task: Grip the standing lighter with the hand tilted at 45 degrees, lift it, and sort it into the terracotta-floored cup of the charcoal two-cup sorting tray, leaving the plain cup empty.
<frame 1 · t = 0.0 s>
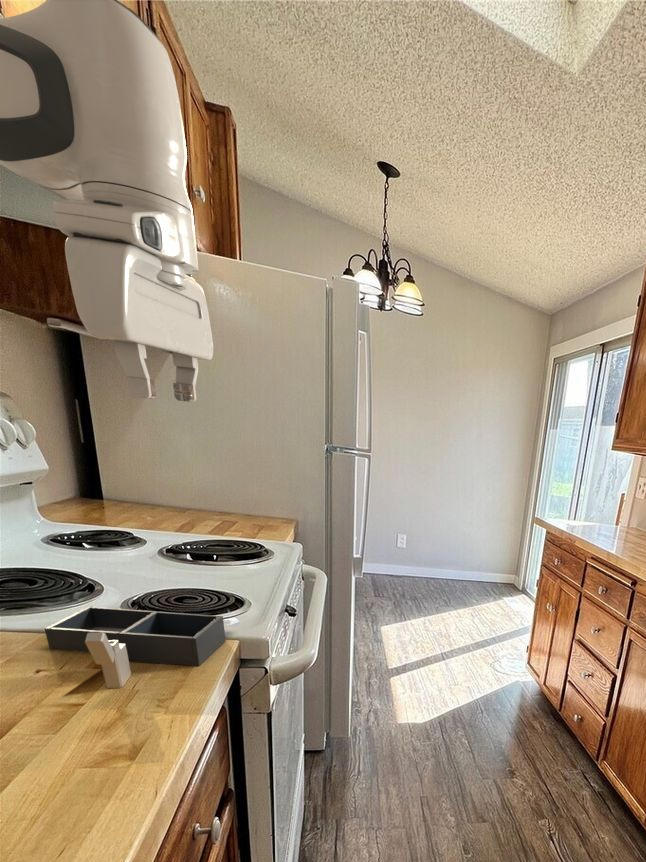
hand: (166, 400, 59), 33 cm above the worktop, tool pointing down, fingers open, 8 cm apart
sorter: (144, 648, 80), on the worktop
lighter: (115, 687, 69), on the worktop
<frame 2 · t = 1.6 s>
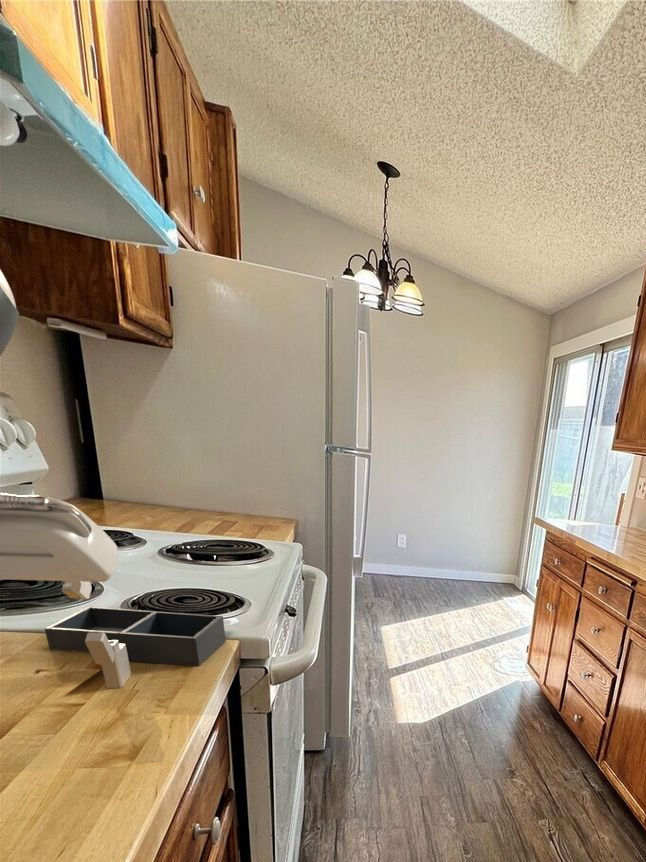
hand: (26, 591, 53), 16 cm above the worktop, tool tilted 45°, fingers open, 8 cm apart
nothing on the worktop moved.
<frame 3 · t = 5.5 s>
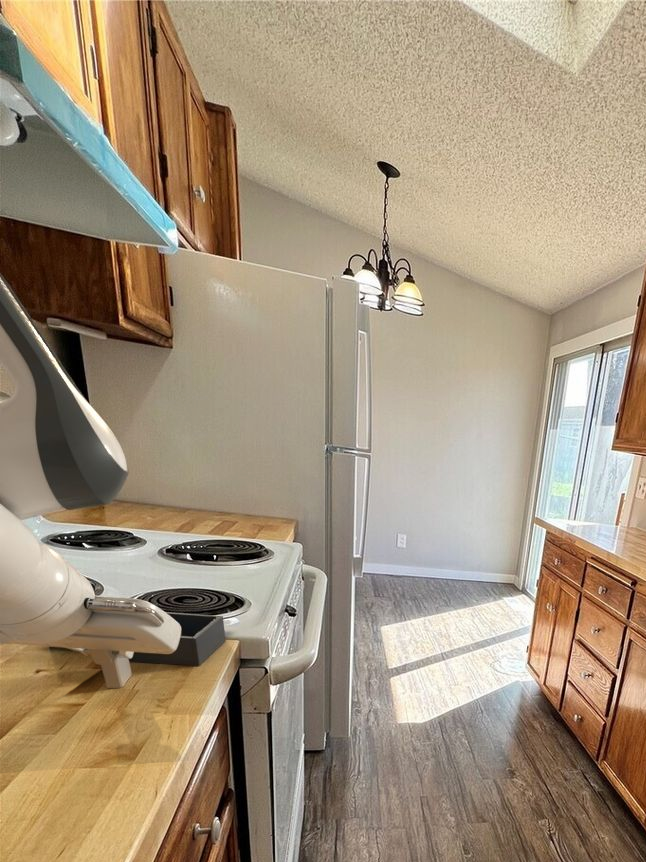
hand: (111, 651, 68), 4 cm above the worktop, tool tilted 45°, fingers closed on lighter, 2 cm apart
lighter: (116, 687, 69), on the worktop, touching gripper
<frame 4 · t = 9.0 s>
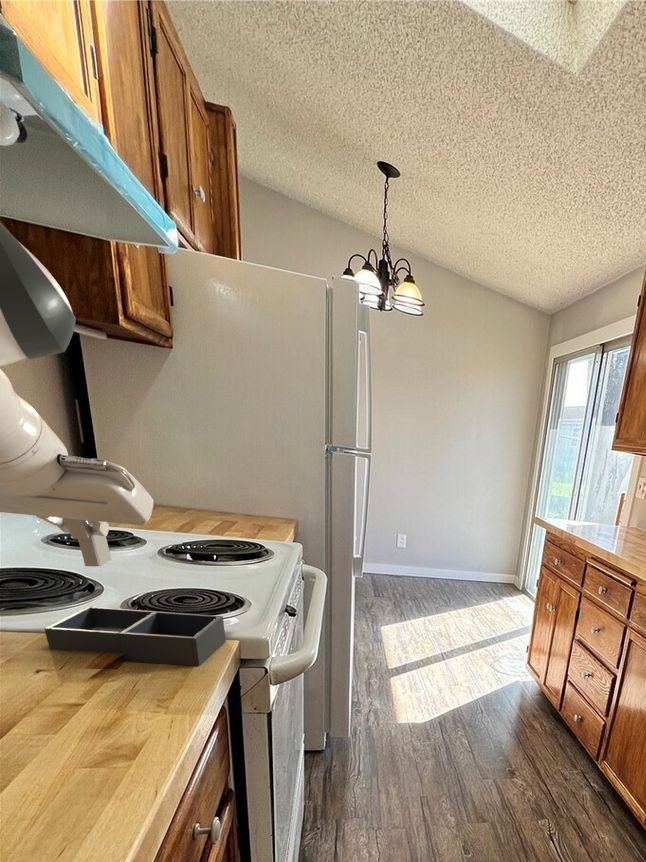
hand: (87, 530, 71), 17 cm above the worktop, tool tilted 45°, fingers closed on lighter
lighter: (94, 566, 72), point 12 cm above the worktop, touching gripper
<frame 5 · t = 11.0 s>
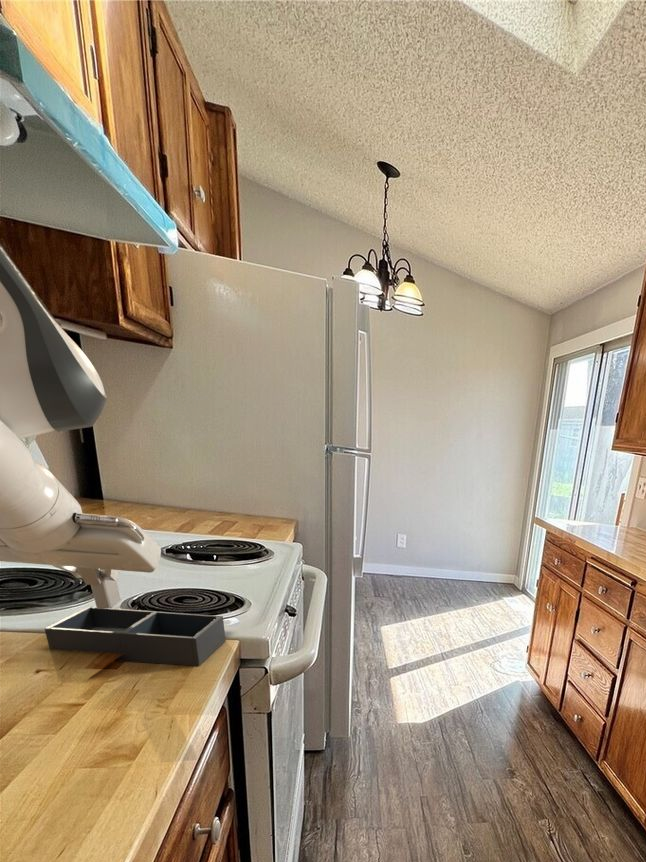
hand: (99, 575, 76), 10 cm above the worktop, tool tilted 45°, fingers closed on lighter
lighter: (105, 608, 77), point 6 cm above the worktop, touching gripper
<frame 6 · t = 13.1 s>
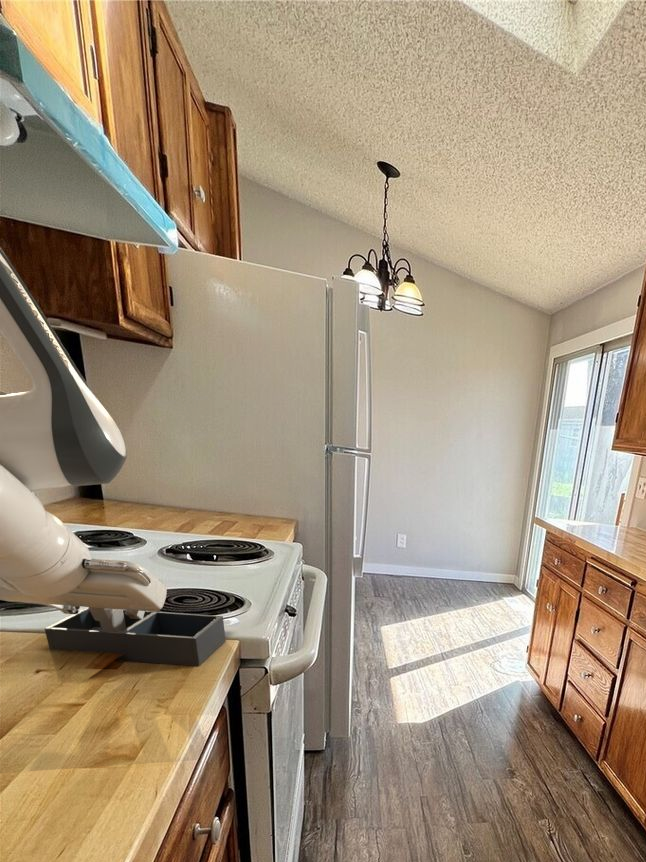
hand: (106, 611, 78), 5 cm above the worktop, tool tilted 45°, fingers open, 7 cm apart
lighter: (112, 642, 79), point 1 cm above the worktop, touching sorter
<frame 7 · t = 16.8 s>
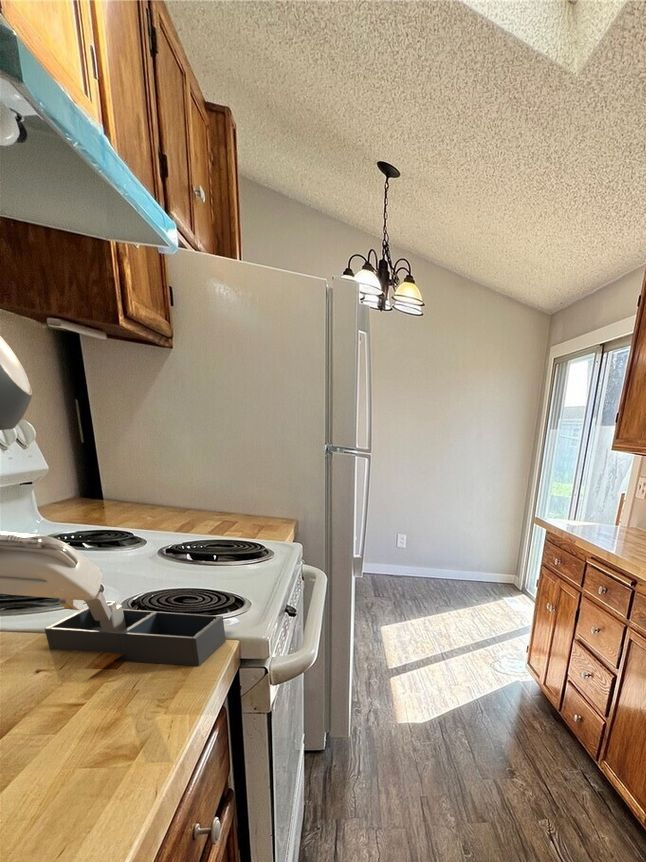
hand: (32, 601, 64), 10 cm above the worktop, tool tilted 45°, fingers open, 8 cm apart
nothing on the worktop moved.
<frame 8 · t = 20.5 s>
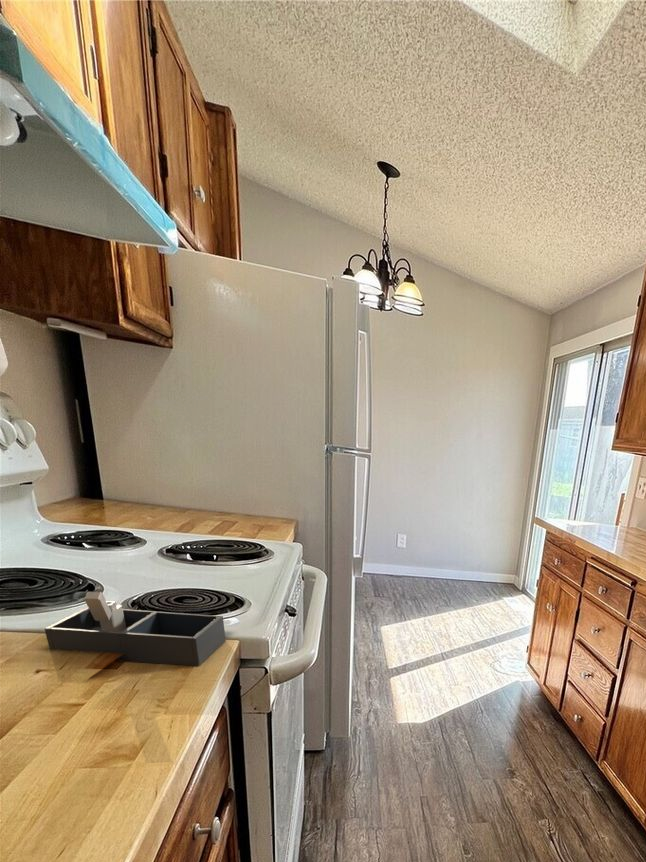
nothing on the worktop moved.
at the end: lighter 0.3 cm from the target spot in the sorter, point 0.6 cm above the sorter's base; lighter tilted 0°; the gripper is holding nothing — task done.
